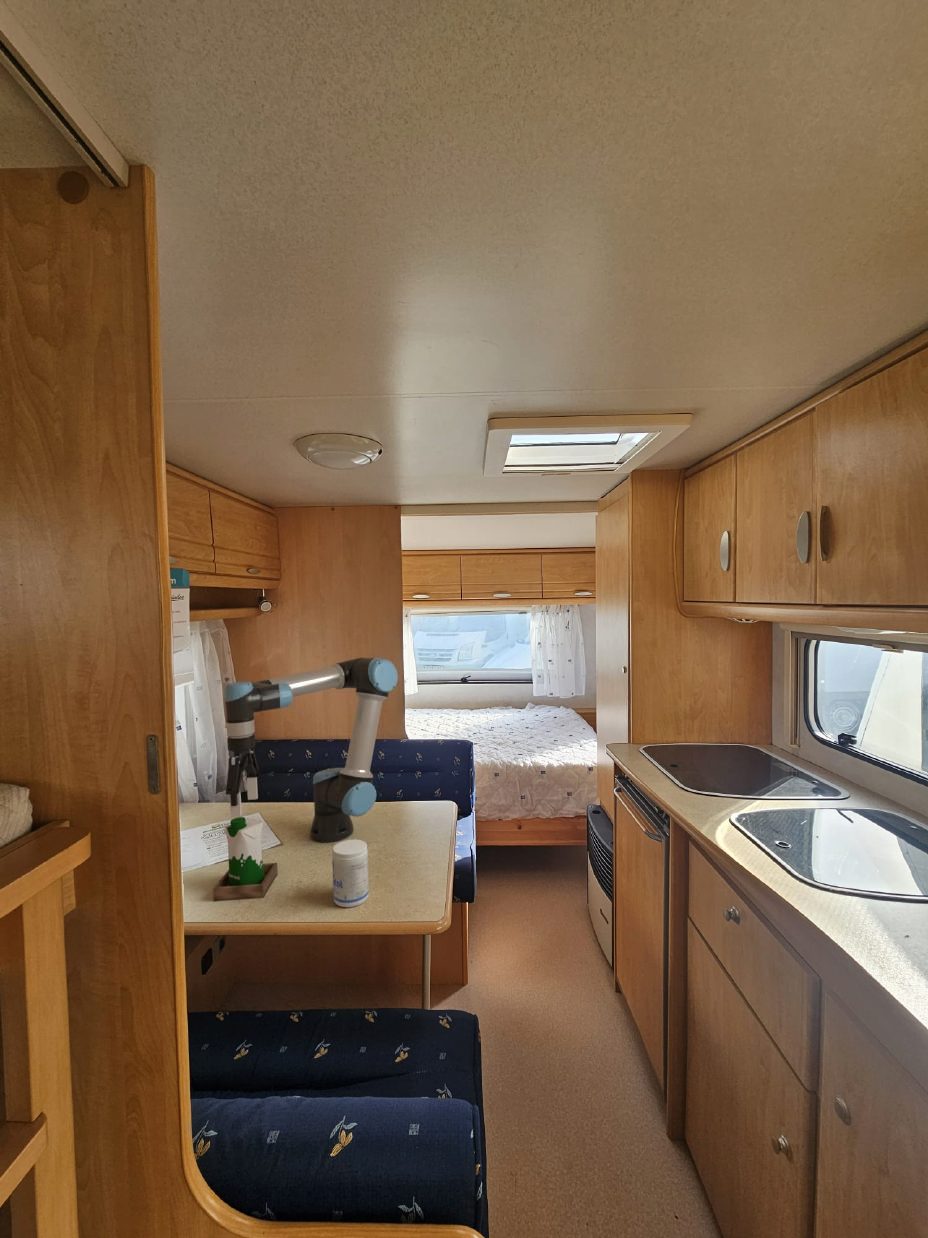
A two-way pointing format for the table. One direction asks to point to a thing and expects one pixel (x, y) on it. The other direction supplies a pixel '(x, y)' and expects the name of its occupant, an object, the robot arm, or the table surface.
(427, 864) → the table surface
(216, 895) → the tray
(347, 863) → the supplement tub
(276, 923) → the table surface
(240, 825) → the soya milk
